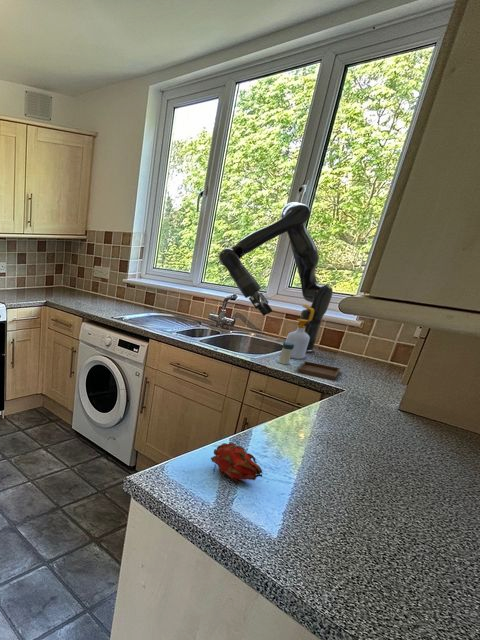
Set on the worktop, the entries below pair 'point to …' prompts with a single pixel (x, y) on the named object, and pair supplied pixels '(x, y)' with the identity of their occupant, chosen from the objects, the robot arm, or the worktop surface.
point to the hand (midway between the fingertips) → (268, 313)
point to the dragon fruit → (236, 462)
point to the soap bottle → (300, 337)
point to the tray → (319, 370)
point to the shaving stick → (286, 353)
